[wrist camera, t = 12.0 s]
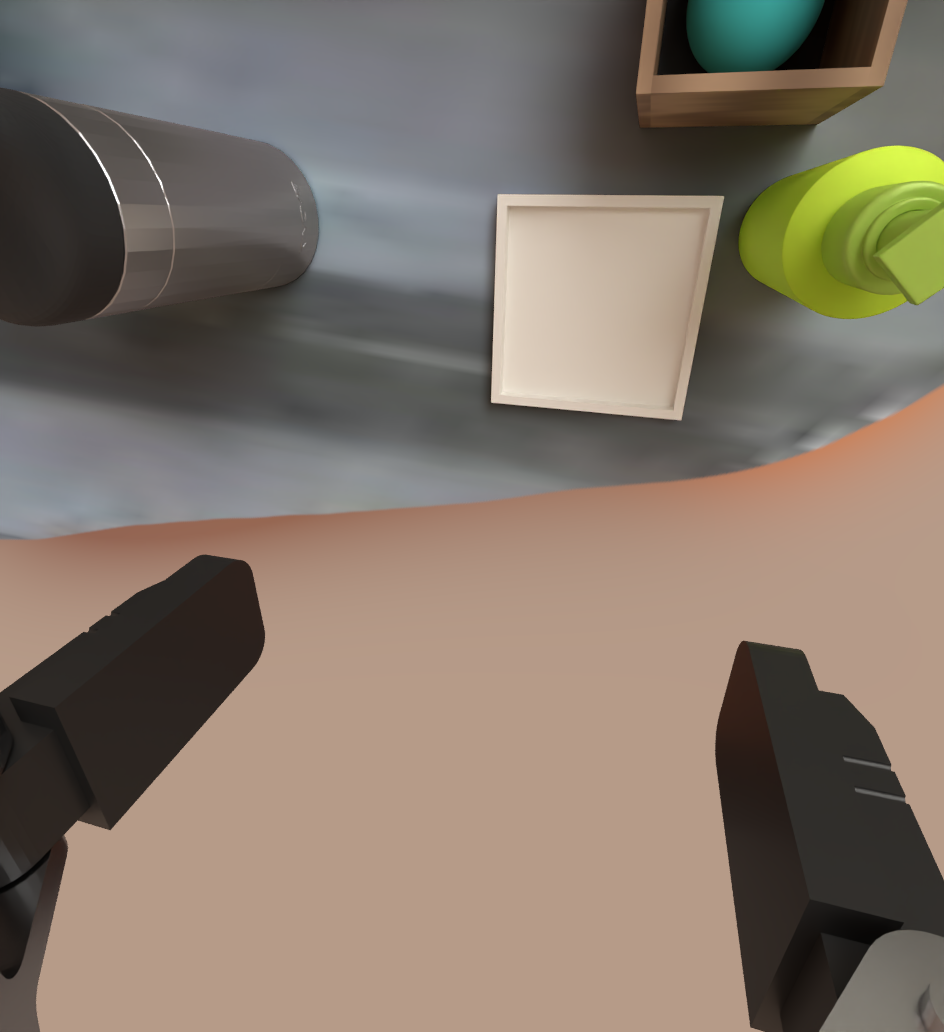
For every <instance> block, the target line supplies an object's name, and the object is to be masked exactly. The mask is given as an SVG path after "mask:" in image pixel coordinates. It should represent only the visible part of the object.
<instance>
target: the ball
mask: <svg viewBox="0 0 944 1032" xmlns="http://www.w3.org/2000/svg"><path fill="white" fill-rule="evenodd" d="M824 2H825V0H688V5H687V15H686V26H687V35H688V41H689V44H690V48H691V50H692V53H693V55H694V57H695V58H696V60H697V62H698V63H699V64H700V65H701V66H702V68H703V69H704V70H706V71H707V72H708V73H730V72H755V71H773V70H775V69H776V68H777V67H779V66H780V65H782V64H783V63H784V62H785V61H787V60H788V59H789V58H790V57H791V56H792V55H793V54H794V53H795V52H796V51H797V50H798V49H799V48H800V46H801V45H802V44H803V42H804V41H805V40H806V38H807V37H808V35H809V34H810V32H811V31H812V29H813V27H814V25H815V23H816V21H817V20H818V18H819V15H820V13H821V10H822V8H823V5H824Z"/></svg>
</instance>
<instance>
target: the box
mask: <svg viewBox="0 0 944 1032" xmlns="http://www.w3.org/2000/svg"><path fill="white" fill-rule="evenodd" d="M667 1H668V0H647V6H646V14H645V22H644V30H643V39H642V47H641V55H640V64H639V72H638V80H637V88H636V100H637V108H638V117H639V126H640V128H653V127H704V126H756V125H808V124H819V123H821V122H823V121H824V120H826V119H828V118H829V117H831V116H833V115H835V114H836V113H838V112H840V111H841V110H843V109H845V108H846V107H848V106H850V105H852V104H853V103H855V102H857V101H858V100H860V99H862V98H864V97H865V96H867V95H869V94H870V93H872V92H874V91H875V90H877V89H879V88H881V87H882V86H884V82H885V79H886V75H887V72H888V68H889V65H890V61H891V57H892V54H893V50H894V47H895V43H896V40H897V36H898V33H899V29H900V26H901V22H902V18H903V15H904V11H905V8H906V4H907V1H908V0H835V2H834V6H833V11H832V15H831V19H830V23H829V27H828V32H827V36H826V40H825V44H824V48H823V53H822V57H821V61H820V65H819V69H805V70H780V71H755V72H730V73H704V74H679V75H658V68H659V61H660V53H661V46H662V38H663V31H664V23H665V16H666V8H667Z"/></svg>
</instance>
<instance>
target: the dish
mask: <svg viewBox="0 0 944 1032" xmlns="http://www.w3.org/2000/svg"><path fill="white" fill-rule="evenodd" d="M723 200H724V196H659V195H520V194H498V201H497V233H496V264H495V295H494V327H493V358H492V390H491V403H502V404H512V405H523V406H534V407H544V408H555V409H566V410H576V411H587V412H597V413H608V414H619V415H629V416H640V417H651V418H661V419H672V420H681V419H682V414H683V409H684V403H685V398H686V393H687V388H688V383H689V377H690V372H691V367H692V362H693V356H694V351H695V346H696V341H697V336H698V330H699V325H700V320H701V315H702V310H703V304H704V299H705V294H706V289H707V283H708V278H709V273H710V268H711V263H712V257H713V252H714V247H715V242H716V237H717V231H718V226H719V221H720V216H721V210H722V205H723Z"/></svg>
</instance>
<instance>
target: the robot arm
mask: <svg viewBox="0 0 944 1032" xmlns="http://www.w3.org/2000/svg"><path fill="white" fill-rule="evenodd" d="M318 234H319V229H318V214H317V208H316V203H315V200H314V197H313V194H312V191H311V189H310V186H309V184H308V183H307V181H306V179H305V177H304V175H303V174H302V172H301V171H300V170H299V168H298V167H297V166H296V165H295V163H294V162H293V161H292V160H291V159H290V158H289V157H288V156H286V155H285V154H284V153H283V152H282V151H281V150H279V149H277V148H275V147H273V146H271V145H269V144H267V143H263V142H259V141H255V140H250V139H246V138H241V137H236V136H232V135H227V134H224V133H219V132H214V131H209V130H204V129H200V128H195V127H190V126H185V125H180V124H175V123H171V122H166V121H161V120H156V119H151V118H147V117H142V116H137V115H132V114H127V113H123V112H118V111H113V110H108V109H103V108H99V107H94V106H89V105H84V104H77V103H73V102H68V101H63V100H58V99H53V98H49V97H44V96H39V95H34V94H29V93H24V92H19V91H15V90H10V89H5V88H0V319H1V320H4V321H6V322H9V323H14V324H18V325H26V326H52V325H58V324H64V323H70V322H75V321H81V320H87V319H93V318H99V317H105V316H110V315H116V314H122V313H128V312H133V311H138V310H143V309H149V308H155V307H161V306H167V305H172V304H178V303H184V302H190V301H196V300H202V299H207V298H213V297H219V296H225V295H231V294H237V293H242V292H250V291H255V290H261V289H266V288H272V287H277V286H282V285H286V284H288V283H290V282H292V281H294V280H296V279H297V278H298V277H299V276H300V275H301V274H302V273H303V272H304V271H305V270H306V268H307V267H308V265H309V264H310V262H311V261H312V258H313V255H314V253H315V250H316V246H317V240H318ZM264 642H265V630H264V625H263V620H262V616H261V611H260V607H259V601H258V597H257V593H256V587H255V582H254V577H253V573H252V570H251V568H250V566H249V565H248V564H247V563H246V562H245V561H242V560H236V559H230V558H223V557H217V556H211V555H200V556H197V557H196V558H194V559H193V560H191V561H190V562H189V563H188V564H186V565H185V566H183V567H182V568H181V569H179V570H178V571H177V572H175V573H174V574H172V575H171V576H170V577H168V578H167V579H166V580H164V581H162V582H160V583H157V584H155V585H153V586H151V587H149V588H146V589H144V590H142V591H140V592H138V593H136V594H135V595H133V596H132V597H131V598H129V599H128V600H127V601H125V602H124V603H122V604H121V605H120V606H118V607H117V608H116V609H114V610H113V611H112V612H111V615H110V616H105V617H103V618H102V619H101V620H99V621H98V622H96V623H95V624H94V625H92V626H91V627H90V628H89V631H88V632H87V633H86V632H83V633H81V634H80V635H79V636H78V637H76V638H75V639H73V640H72V641H70V642H69V643H68V644H66V645H65V646H63V647H62V648H61V649H59V650H58V651H57V652H55V653H54V654H53V655H51V656H50V657H49V658H47V659H46V660H44V661H43V662H41V663H40V664H39V665H37V666H36V667H35V668H33V669H32V670H30V671H29V672H28V673H26V674H25V675H24V676H22V677H21V678H20V679H18V680H17V681H15V682H14V683H13V684H12V685H10V686H9V687H7V688H6V689H4V690H3V691H2V692H0V1032H40V1029H39V1024H38V1018H37V1012H36V994H37V985H38V980H39V976H40V972H41V967H42V963H43V959H44V954H45V950H46V945H47V941H48V936H49V932H50V927H51V923H52V919H53V914H54V910H55V906H56V901H57V897H58V892H59V888H60V884H61V880H62V875H63V870H64V866H65V862H66V858H67V852H68V844H67V840H66V838H65V836H64V834H65V833H66V832H67V831H68V830H69V829H70V828H71V827H72V826H73V825H74V824H75V822H76V821H77V820H78V821H82V822H85V823H88V824H92V825H95V826H98V827H102V828H105V829H108V830H111V829H112V828H113V827H114V825H115V824H116V823H117V822H118V821H119V820H120V819H121V817H122V816H123V815H124V814H125V813H126V812H127V811H128V810H129V808H130V807H131V806H132V805H133V804H134V803H135V801H136V800H137V799H138V798H139V797H140V796H141V795H142V794H143V793H144V791H145V790H146V789H147V788H148V787H149V786H150V785H151V783H152V782H153V781H154V780H155V779H156V778H157V777H158V775H159V774H160V773H161V772H162V771H163V770H164V769H165V768H166V766H167V765H168V764H169V763H170V762H171V761H172V759H173V758H174V757H175V756H176V755H177V754H178V753H179V752H180V750H181V749H182V748H183V747H184V746H185V745H186V744H187V742H188V741H189V740H190V739H191V738H192V737H193V736H194V735H195V733H196V732H197V731H198V730H199V729H200V728H201V727H202V725H203V724H204V723H205V722H206V721H207V720H208V719H209V718H210V716H211V715H212V714H213V713H214V712H215V711H216V710H217V708H218V707H219V706H220V705H221V704H222V703H223V702H224V700H225V699H226V698H227V697H228V696H229V695H230V693H232V691H233V690H234V689H235V688H236V687H237V686H238V685H239V683H240V682H241V681H242V680H243V679H244V678H245V676H246V675H247V674H248V673H249V672H250V671H251V670H252V669H253V667H254V666H255V665H256V663H257V662H258V660H259V658H260V656H261V653H262V650H263V647H264ZM715 744H716V745H715V755H716V767H717V775H718V783H719V790H720V798H721V806H722V813H723V821H724V829H725V836H726V844H727V852H728V859H729V866H730V874H731V882H732V890H733V897H734V905H735V912H736V920H737V928H738V936H739V943H740V950H741V958H742V966H743V974H744V982H745V989H746V997H747V1005H748V1012H749V1020H750V1027H751V1028H755V1029H758V1030H761V1031H764V1032H944V880H943V877H942V875H941V873H940V871H939V869H938V866H937V864H936V862H935V860H934V858H933V855H932V853H931V851H930V849H929V847H928V844H927V842H926V840H925V838H924V835H923V834H922V831H921V829H920V827H919V825H918V822H917V820H916V818H915V816H914V813H913V811H912V809H911V807H910V805H909V804H906V803H905V794H904V791H903V789H902V787H901V785H900V783H899V780H898V778H897V776H896V774H895V772H892V771H891V763H890V761H889V758H888V756H887V754H886V752H885V750H884V748H883V745H882V743H881V741H880V739H879V736H878V734H877V732H876V730H875V728H874V727H873V726H872V725H871V724H870V722H869V721H868V720H867V719H866V718H865V717H864V716H863V715H862V714H861V713H860V712H859V711H858V710H857V709H856V708H855V707H854V706H853V704H852V703H851V702H850V701H849V700H848V699H847V698H846V697H845V696H844V695H841V694H835V693H830V692H824V691H819V690H818V688H817V685H816V682H815V680H814V677H813V674H812V672H811V669H810V666H809V664H808V661H807V658H806V656H805V654H804V653H803V651H801V650H799V649H793V648H786V647H780V646H773V645H767V644H760V643H754V642H748V641H742V642H741V643H740V645H739V647H738V649H737V652H736V656H735V659H734V663H733V667H732V670H731V674H730V678H729V682H728V685H727V689H726V693H725V697H724V700H723V704H722V707H721V711H720V715H719V719H718V724H717V731H716V743H715Z"/></svg>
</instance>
